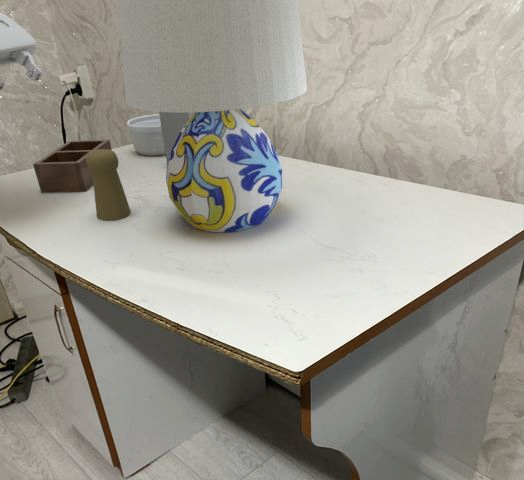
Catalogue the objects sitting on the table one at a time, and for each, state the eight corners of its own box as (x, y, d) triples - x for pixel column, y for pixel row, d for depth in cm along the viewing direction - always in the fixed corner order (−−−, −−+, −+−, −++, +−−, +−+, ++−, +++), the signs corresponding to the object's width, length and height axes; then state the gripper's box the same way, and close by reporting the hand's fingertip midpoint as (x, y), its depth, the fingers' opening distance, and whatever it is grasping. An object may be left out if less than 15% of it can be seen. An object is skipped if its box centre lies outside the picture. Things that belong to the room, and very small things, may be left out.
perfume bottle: (195, 169, 116) (184, 76, 105) (167, 168, 118) (153, 77, 107) (208, 160, 121) (198, 71, 110) (181, 159, 123) (168, 72, 112)
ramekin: (189, 153, 127) (185, 122, 123) (133, 160, 124) (127, 128, 120) (183, 140, 137) (179, 111, 133) (131, 146, 135) (125, 117, 131)
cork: (118, 205, 99) (105, 144, 93) (137, 212, 95) (125, 149, 89) (90, 215, 96) (74, 152, 89) (108, 223, 92) (93, 157, 86)
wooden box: (41, 192, 108) (32, 164, 105) (75, 166, 123) (68, 140, 120) (86, 191, 107) (78, 162, 104) (115, 165, 122) (109, 139, 119)
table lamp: (332, 199, 95) (338, -89, 73) (260, 261, 76) (238, -105, 53) (205, 184, 107) (176, -70, 84) (114, 234, 87) (44, -78, 65)
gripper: (-11, 26, 94) (52, 86, 97) (-109, 39, 78) (-31, 110, 81) (1, -7, 90) (65, 57, 93) (-101, 0, 74) (-19, 76, 77)
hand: (20, 82), depth 87 cm, fingers open, 8 cm apart
